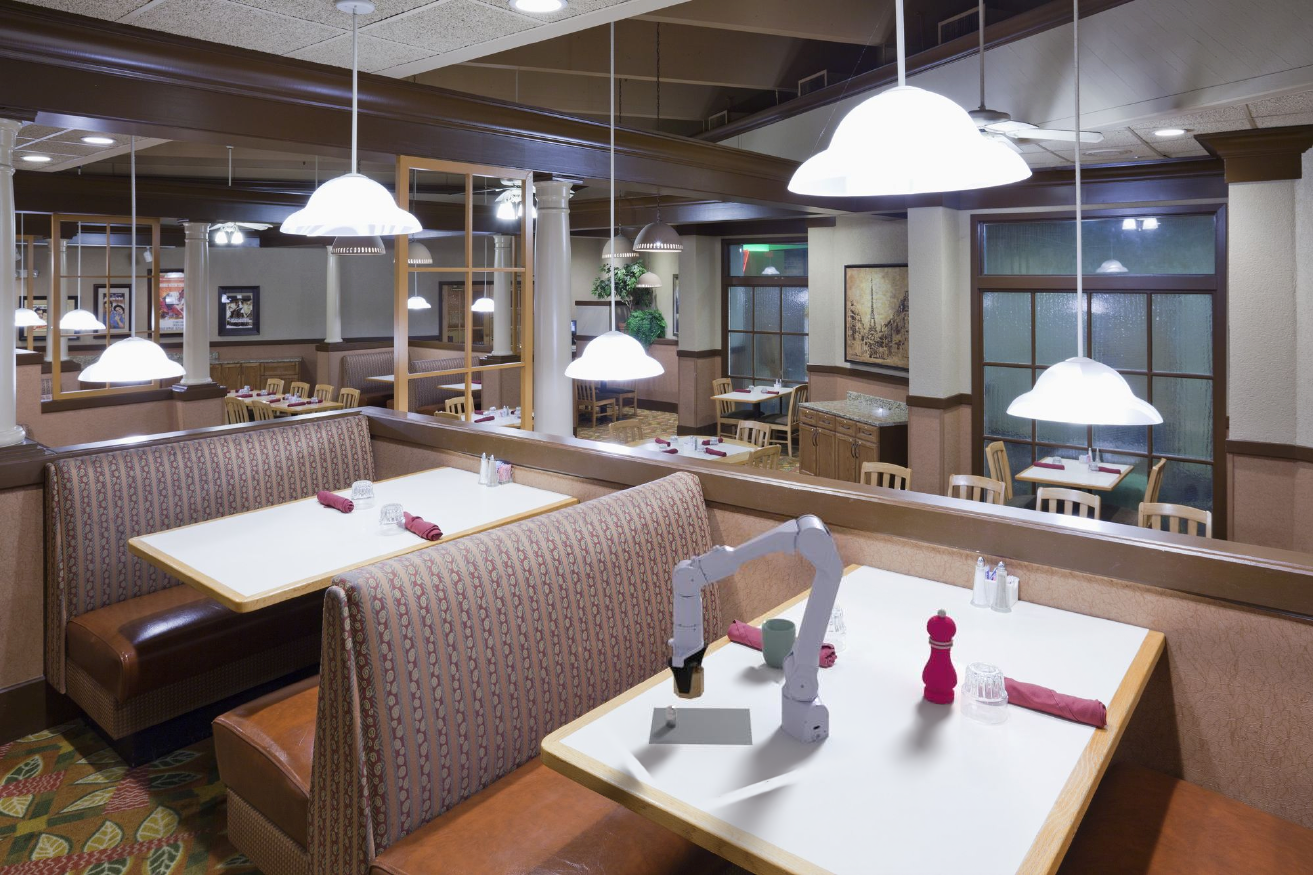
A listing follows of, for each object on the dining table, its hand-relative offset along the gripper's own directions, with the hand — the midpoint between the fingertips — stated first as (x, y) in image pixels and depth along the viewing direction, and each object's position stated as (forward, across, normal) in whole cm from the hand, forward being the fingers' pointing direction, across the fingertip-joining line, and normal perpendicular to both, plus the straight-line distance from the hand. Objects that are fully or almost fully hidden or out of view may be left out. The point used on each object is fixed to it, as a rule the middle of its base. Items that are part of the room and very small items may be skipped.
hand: (688, 685), depth 168 cm
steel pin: (+9, +1, -4) cm, 9 cm away
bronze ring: (+1, 0, 0) cm, 1 cm away
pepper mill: (+10, -29, +48) cm, 57 cm away
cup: (+10, -35, +12) cm, 38 cm away
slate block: (+10, -1, +2) cm, 10 cm away
